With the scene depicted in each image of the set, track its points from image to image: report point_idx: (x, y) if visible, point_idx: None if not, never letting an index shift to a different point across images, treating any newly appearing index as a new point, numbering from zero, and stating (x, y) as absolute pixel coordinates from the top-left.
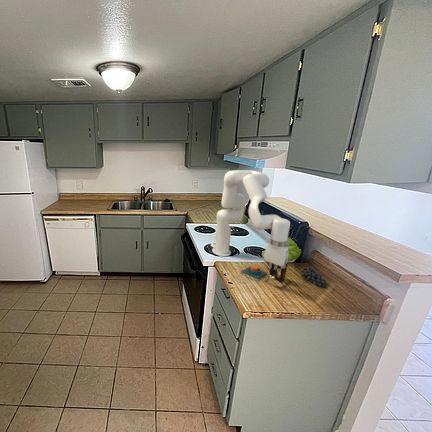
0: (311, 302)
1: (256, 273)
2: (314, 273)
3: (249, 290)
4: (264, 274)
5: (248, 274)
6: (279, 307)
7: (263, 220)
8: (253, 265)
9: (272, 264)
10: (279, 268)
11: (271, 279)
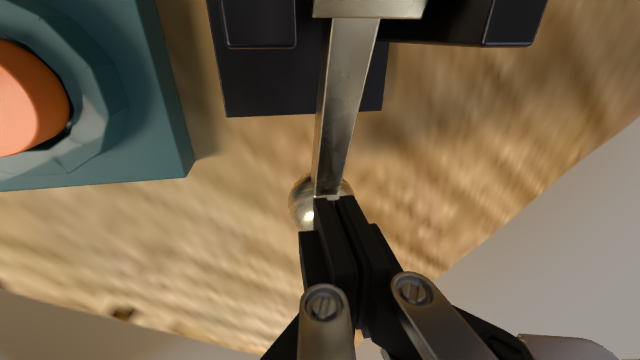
0: (556, 105)
1: (112, 139)
2: None
3: (249, 284)
4: (145, 17)
5: (76, 183)
6: None
7: None
8: None
9: (331, 351)
10: (370, 56)
11: None
